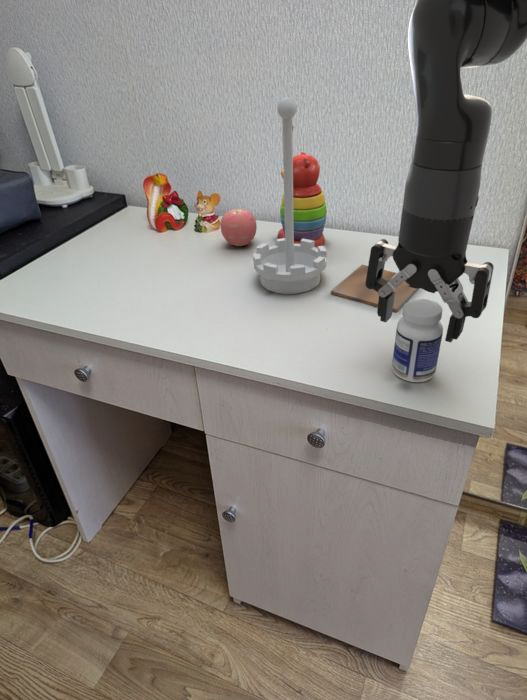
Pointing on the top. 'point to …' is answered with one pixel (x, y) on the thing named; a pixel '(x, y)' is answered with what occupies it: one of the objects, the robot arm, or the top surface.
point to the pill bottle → (418, 340)
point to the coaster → (359, 292)
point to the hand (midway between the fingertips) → (417, 328)
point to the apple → (238, 227)
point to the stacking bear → (306, 202)
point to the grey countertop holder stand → (289, 233)
